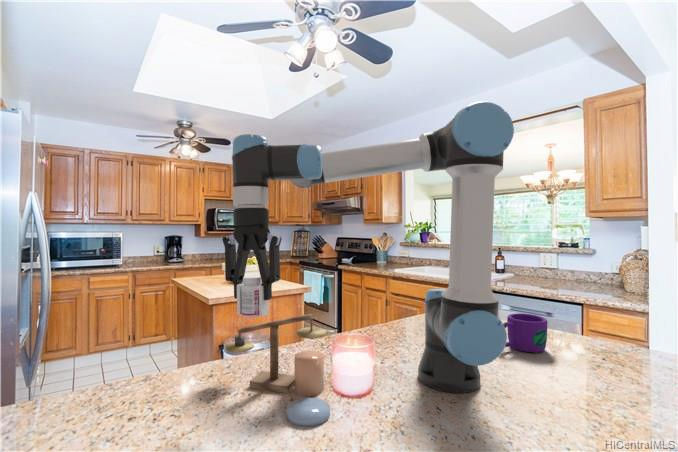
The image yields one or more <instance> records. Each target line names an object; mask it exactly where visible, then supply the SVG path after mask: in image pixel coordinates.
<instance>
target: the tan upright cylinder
mask: <svg viewBox="0 0 678 452" xmlns="http://www.w3.org/2000/svg"><path fill="white" fill-rule="evenodd" d="M293 375H294V387H293V391H294V393H295V394H296V395H298V396H301V397H314V396H318V395H320V394H322V393H323V392H324V390H325V389H324V388H325V354H324V353H322V352H320V351H318V350H303V351H299V352H297V353H296V354H295V355H294V374H293Z"/></svg>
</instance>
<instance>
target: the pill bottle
mask: <svg viewBox="0 0 678 452" xmlns="http://www.w3.org/2000/svg"><path fill="white" fill-rule="evenodd" d="M242 283H243V284H244V286H242V288H241V297H242V314H241V317H243V318H246V319H247V318H249V319H250V318H251V319H253V318H258V317H260V316H259V286H260V285H261V283H262V280H261V276H260V275H246V276H244V277H243V282H242Z"/></svg>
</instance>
